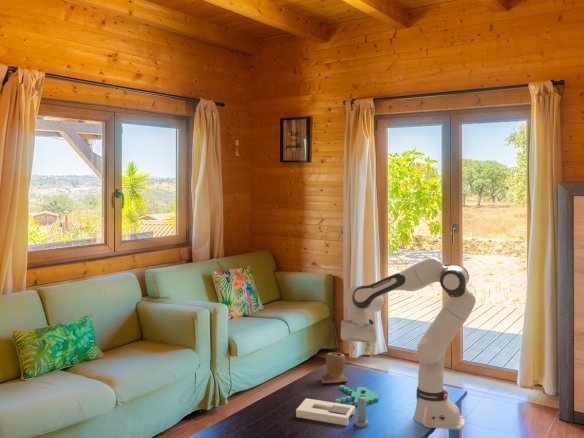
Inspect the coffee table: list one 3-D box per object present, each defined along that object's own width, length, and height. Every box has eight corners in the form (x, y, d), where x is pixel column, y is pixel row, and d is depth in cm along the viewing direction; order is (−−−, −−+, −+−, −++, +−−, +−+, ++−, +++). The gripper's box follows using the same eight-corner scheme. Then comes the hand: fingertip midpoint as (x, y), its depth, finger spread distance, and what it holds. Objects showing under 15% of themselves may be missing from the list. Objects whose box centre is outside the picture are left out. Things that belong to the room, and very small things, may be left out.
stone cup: (342, 376, 305) (343, 349, 304) (350, 384, 294) (350, 356, 293) (316, 378, 302) (316, 351, 301) (322, 386, 290) (323, 358, 289)
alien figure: (335, 404, 268) (377, 408, 264) (335, 400, 268) (377, 404, 264) (340, 389, 287) (379, 392, 283) (340, 385, 287) (379, 388, 283)
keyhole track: (355, 413, 257) (355, 406, 257) (347, 425, 244) (347, 418, 244) (306, 405, 266) (306, 398, 265) (296, 416, 252) (296, 409, 252)
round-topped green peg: (369, 422, 247) (370, 396, 246) (366, 428, 242) (367, 401, 241) (356, 420, 249) (356, 394, 248) (353, 426, 244) (353, 399, 243)
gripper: (345, 317, 253) (348, 348, 247) (377, 321, 265) (380, 351, 259) (336, 320, 257) (338, 350, 252) (367, 324, 269) (370, 353, 264)
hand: (360, 350), depth 256 cm, fingers open, 8 cm apart
